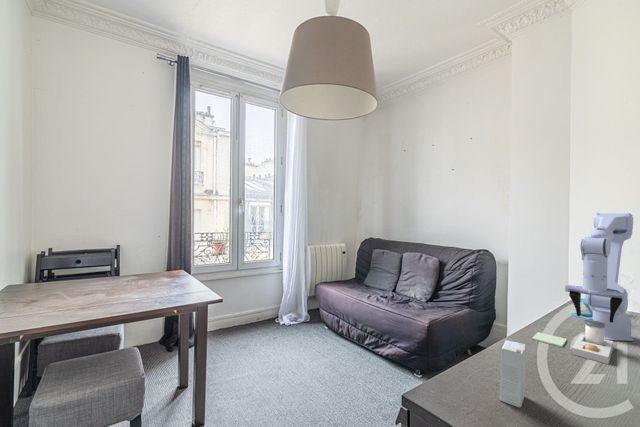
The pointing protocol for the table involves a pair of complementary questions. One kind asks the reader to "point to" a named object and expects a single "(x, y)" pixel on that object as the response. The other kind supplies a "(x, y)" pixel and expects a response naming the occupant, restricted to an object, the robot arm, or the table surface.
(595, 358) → the housing
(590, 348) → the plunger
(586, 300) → the chair
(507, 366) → the skincare box
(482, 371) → the table surface
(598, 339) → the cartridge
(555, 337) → the mat
